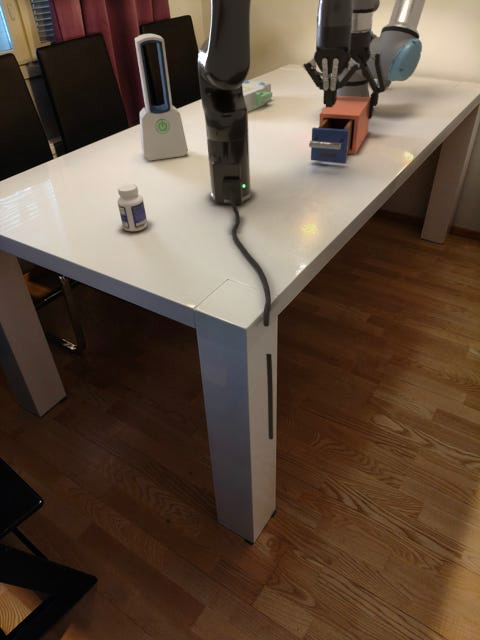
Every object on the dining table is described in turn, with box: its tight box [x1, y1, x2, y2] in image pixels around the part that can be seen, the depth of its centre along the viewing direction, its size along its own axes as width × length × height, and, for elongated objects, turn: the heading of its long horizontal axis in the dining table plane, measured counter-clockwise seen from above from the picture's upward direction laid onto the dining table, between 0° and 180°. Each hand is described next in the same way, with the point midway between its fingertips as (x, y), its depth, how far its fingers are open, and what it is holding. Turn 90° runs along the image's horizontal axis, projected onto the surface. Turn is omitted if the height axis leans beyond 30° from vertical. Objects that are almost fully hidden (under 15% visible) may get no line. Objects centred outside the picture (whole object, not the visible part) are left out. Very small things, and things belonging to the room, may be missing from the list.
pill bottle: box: [117, 182, 148, 232], centre depth 102 cm, size 5×5×9 cm
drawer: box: [308, 118, 355, 164], centre depth 129 cm, size 23×9×8 cm, turn 158°
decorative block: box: [242, 79, 273, 113], centre depth 175 cm, size 26×6×20 cm
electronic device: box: [134, 33, 189, 162], centre depth 131 cm, size 12×8×30 cm, turn 105°
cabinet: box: [318, 96, 371, 155], centre depth 139 cm, size 19×10×10 cm, turn 158°
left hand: (329, 106), depth 117 cm, fingers closed
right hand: (349, 116), depth 143 cm, fingers open, 11 cm apart
